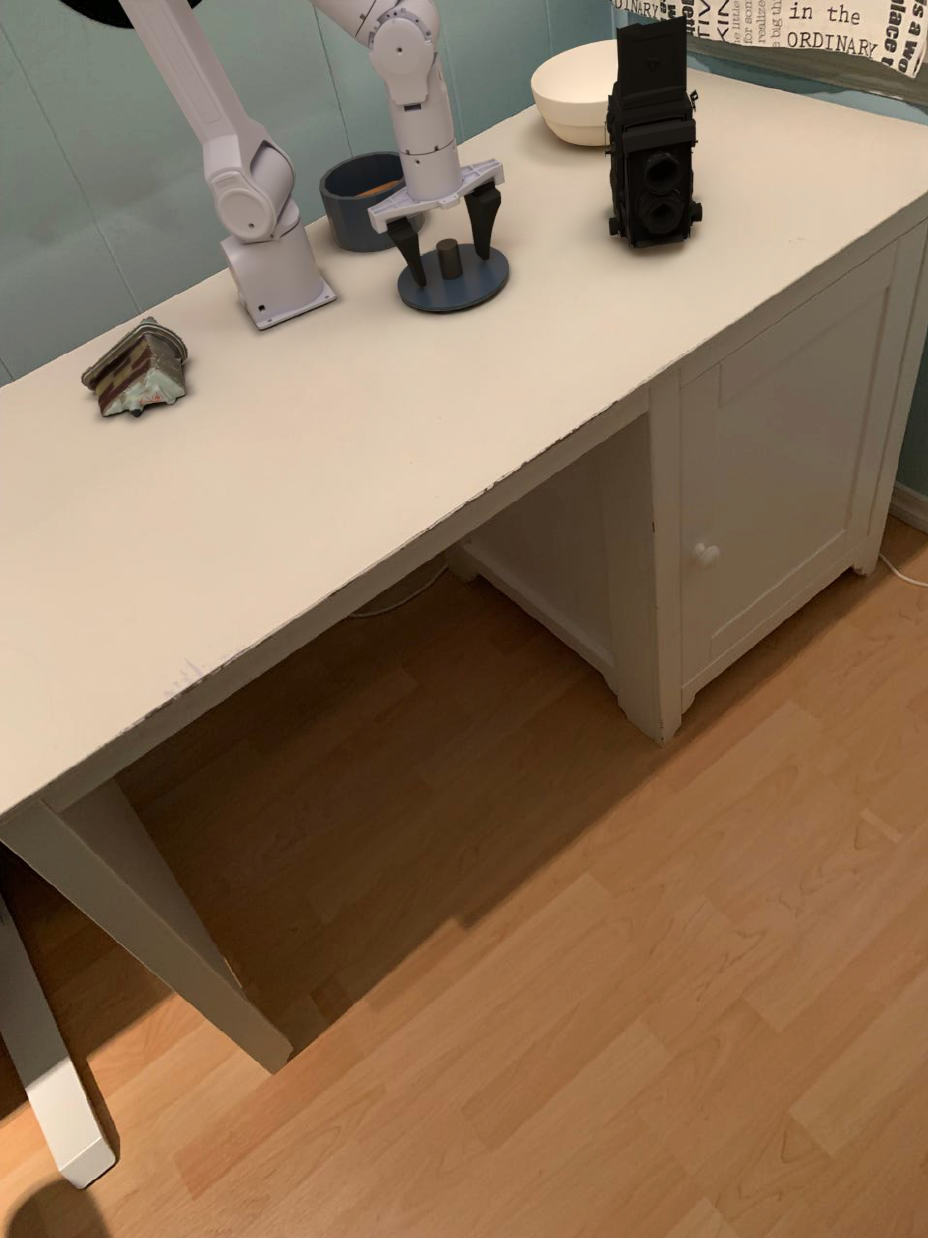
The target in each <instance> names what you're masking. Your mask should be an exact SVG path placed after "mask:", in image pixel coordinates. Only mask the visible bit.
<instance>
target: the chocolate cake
mask: <svg viewBox="0 0 928 1238" xmlns="http://www.w3.org/2000/svg"><path fill="white" fill-rule="evenodd" d="M188 357H189V350H188V347H187V346H186V344H185V343H184V340H183V338H182V337H180V336H179V335H178V334H176V332H174V330H172V329H171V328H168V327H167V326H164V325H162V324H160V323H158V321H157V319H155V317H153V316H150V315H149V316H148V317H145V318H143V319H142V320H141V321H140V322H139V323H138V324H137V326H135V327H133V328H132V330H130V331H128V332H127V333H126V334H125V335H124V336H122V338H120V339H119V340H118V341H117V342H116V343H115V344H114V345H113V346H112V347H111V348H110V349H109V350H108V351H107V352H106V353H104V354H103V355H102V356H100V357H99V358H98V360H97V361H96V362H95V363H94V364H92V365H90V366H88V367H87V368H86V370H85V371H84V372H82V373H81V376H80V383H82V385H83V386H84V387H86V388H87V389H88V390H90V391H91V392H95V394H96V396H97V397H98V398H97V403H98V405H97V406H98V407H99V409H100V414H101V415H102V416H103V417H104V416H106V417H107V416H109V415H114V414H117V413H121V412H123V411H125V410H129V411H130V414H131V415H132V416H135V417H138V416H140V414H141V413H142V411H143V410H144V407H145V406H147V405H151V404H154V403H164V402H165V403H166V404H167V405H173V404H175V402H176V399H177V398H180V397H183V396H185V395H186V394H187V391H186V386H185V384H184V380H185V379H184V374H183V371H182V365H183V364H184V362H185V361H186V360H187V359H188Z"/></svg>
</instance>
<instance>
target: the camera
mask: <svg viewBox="0 0 928 1238" xmlns="http://www.w3.org/2000/svg"><path fill="white" fill-rule="evenodd" d="M615 30H616V31H615V34H616V39H617V56H618V73H617V81H616V82H615V83H614V84H613V90H612V95H608V109H607V111H608V112H607V115H606V121H604V123H605V126H606V125H607V131H608V133H609V134H610V136H609V141H610V145H609V150H607V145H606V128H605V145H604V156H605V157H604V158H607V155H610V169H609V185H610V190H611V201H612V208H613V214H614V215H615V216H612V217H611V216H610V217H609V218H608V230H609V231H608V232H609V235H610V237H614V236H619V235H620V238H621V239H624V238H625V239H626V240H627V243H628V247H629V249H631V246H632V247H633V249H637V250H642V249H648V248H654V247H660V246H664V245H670V244H671V245H672V244H676V243H682V242H685V240H688V239H689V238H691V233H692V227H693V226H694V223H701V222H702V221H703V206H702V202H701V201H700V202H696V200H693V194H694V178H695V177H694V176H695V175H694V174H695V173H694V170H693V154H694V151H693V150H692V148H696V144H698V143H699V139H697V121H696V120H695V118H694V113H697V106H696V102H695V101H697V100H699V94H698V92H697V90H696V89H694V90H693V91H691V93H690V94H688V92H687V91H688V14H683V15H679V16H676V17H672V18H668V19H665V20H662V21H655V22H650V23H646V24H642V23H639V22H636V23H632V24H629V25H625V26H623V27H620V28H619V27H617V26H616V27H615Z"/></svg>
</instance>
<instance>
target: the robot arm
mask: <svg viewBox="0 0 928 1238" xmlns="http://www.w3.org/2000/svg"><path fill="white" fill-rule="evenodd" d="M307 1H308V2H309V3H311V4H312V5H313V6H314V7H315V8H317V9H318V10H319V11H320V12H321V13H322V14H324V15H325V16H326V17H327V18H328V19H330V20H331V21H332V22H333V23H335V24H336V26H338V27H339V28H340V29H342V31H344V32H345V33H346V34H348V35H349V36H350V37H351V38H353V40H354V41H356V42H357V44H360V45H362V46H365V47H366V48H368V49H369V52H368V53H367V58H368V60H369V63H370V65H371V68H372V69H373V70H374V72H375V73H376V74H377V75H378V76H379V78H381V79H382V81H383V84H384V89H385V92H386V103H387V106H388V110H389V115H390V118H391V124H392V128H393V133H394V136H395V141H396V146H397V150H398V153H399V156H400V160H401V164H402V169H403V173H404V178H405V182H406V187H404V188H402V189H401V190H399V191H398V192H396V193H395V194H393V195H392V196H390V197H389V198H387V199H385V200H384V201H382V202H381V203H379V204H377V205H375V206H373V207H371V208H368V213H369V217H370V221H371V224H372V227H373V228H374V229H375V230H376V232H378V233H379V234H380V233H383V232H386V233H387V234H388V236H389V237H390V238H391V239H392V241H393V242H394V243H395V245H396V246H395V247H396V248H397V250H398V251H399V252H400V254H401V256H402V257H403V259H404V260H405V263H406V264H407V265H408V266H409V268H410V271H411V273H412V275H413V278H414V281H415V282H416V283H417V284H418V285H419V286H420V287H424V286H427V282H426V276H425V273H424V269H423V265H422V262H421V257H420V256H421V250H420V240H419V239H420V238H419V237H420V236H419V233H418V232H416V231H415V230H414V229H413V228H412V225H411V223H409V222H408V218H411V217H413V216H416V215H418V214H421V213H423V212H424V213H426V212H428V211H430V210H434V209H438V208H440V209H441V210H448V209H451V208H454V207H456V206H458V205H460V204H461V199H462V197H463V199H464V202H465V207H466V210H467V214H468V217H469V222H470V227H471V234H472V241H473V244H474V247H475V251H476V254H477V255H478V256H479V257H480V258H481V259H482V260H484V261H486V260H488V259H489V256H490V247H491V241H492V234H493V229H494V224H495V221H496V217H497V215H498V212H499V209H500V207H501V205H502V193H501V191H500V190H499V189H498V188H497V187H496V186H499V185H502V184H505V183H506V180H505V172H504V165H503V163H502V162H500V161H499V160H498V159H496V158H495V157H492V158H489V159H487V160H483V161H480V162H476V163H471V164H467V165H462V166H461V163H460V157H459V151H458V145H457V140H456V133H455V128H454V121H453V115H452V111H451V106H450V100H449V99H450V98H449V93H448V88H447V83H446V81H445V78H444V71H443V70H444V69H443V66H442V62H441V56H440V52H438V51H436V49H437V46H438V43H439V40H440V37H441V36H440V35H441V17H440V14H439V12H438V9H437V6H436V5H435V3H434V2H433V0H307ZM118 3H119V4H120V5H121V8H122V9H123V11H124V13H125V14H126V16H127V18H128V19H129V21H130V23H131V25H132V26H133V28H134V30H135V32H136V33H137V35H138V38H139V39H140V40H141V43H142V45H144V47H145V49H146V51H147V52H148V54H149V56H150V58H151V59H152V61H153V63H154V65H155V66H156V68H157V70H158V72H159V74H160V75H161V77H162V79H163V80H164V82H165V85H167V87H168V89H169V91H170V93H171V94H172V96H173V98H174V99H175V101H176V103H177V105H178V107H179V108H180V110H181V112H182V114H183V115H184V118H186V120H187V123H188V124H189V126H190V127H191V129H192V131H193V133H194V134H195V136H196V138H197V139H198V142H199V143H200V145H201V147H202V148H201V149H202V159H203V171H204V180H205V182H206V184H207V186H208V187H209V189H210V191H211V194H212V196H213V201H214V209H215V213H216V216H217V219H218V221H219V222H220V224H221V225H222V226H223V227H224V229H225V230H226V231H227V232H228V233H229V234H230V236H228V237H227V238H224V239H223V240H221V241H220V242H219V247H220V249H221V252H222V255H223V258H224V260H225V263H226V264H227V267H228V270H229V272H230V274H231V277H232V279H233V282H234V284H235V287H236V290H237V292H236V293H237V296H238V298H239V300H240V303H241V305H242V306H243V308H246V310H247V312H248V313H249V316H250V317H251V318H252V320H253V322H254V324H255V326H256V327H257V329H258V330H265V329H268V328H270V327H272V326H275V325H277V324H280V323H282V322H284V321H287V320H289V319H291V318H294V317H297V316H299V315H302V314H303V313H307V312H308V311H311V310H314V309H316V308H318V307H321V306H323V305H325V304H328V303H330V302H332V301H334V300H336V298H337V296H336V293H335V292H334V291H333V289H332V288H331V287H330V285H329V284H328V283H327V281H326V280H325V279H324V277H323V276H322V274H321V273H320V270H319V268H318V265H317V262H316V259H315V255H314V252H313V249H312V246H311V242H310V240H309V236H308V234H307V230H306V227H305V225H304V222H303V219H302V218H303V217H302V215H301V212H300V208H299V207H298V205H297V204H296V202H295V200H294V197H293V194H292V192H293V191H294V189H295V185H296V182H297V181H296V180H297V175H296V173H297V172H296V168H295V165H294V163H293V161H292V160H291V158H290V156H289V155H288V153H286V152H285V151H284V150H283V149H282V148H281V147H280V146H278V145H277V144H276V143H275V141H274V140H273V139H272V138H271V136H270V135H269V132H268V130H267V128H266V127H265V126H264V125H263V124H261V122H258V121H257V120H255V119H253V118H251V117H249V116H248V114H247V112H246V110H245V109H244V106H243V105H242V103H241V100H240V99H239V96H238V95H237V93H236V91H235V89H234V87H233V86H232V84H231V81H230V80H229V78H228V76H227V74H226V72H225V70H224V68H223V66H222V64H221V63H220V60H219V59H218V57H217V55H216V53H215V52H214V49H213V48H212V46H211V44H210V41H209V40H208V38H207V36H206V34H205V32H204V30H203V28H202V26H201V24H200V22H199V20H198V18H197V17H196V15H195V13H194V11H193V9H192V8H191V5H190V3H189V2H188V0H118Z"/></svg>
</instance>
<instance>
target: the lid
mask: <svg viewBox="0 0 928 1238" xmlns="http://www.w3.org/2000/svg"><path fill="white" fill-rule="evenodd" d="M420 257H421V262H422V265H423V269H424V273H425V276H426V282H427V286H424V287H420V286H419V285H418V284H417V283H416V282H415V281H414V278H413V275H412V273H411V271H410V268H409V266H408V264H407V265H406V266H405V267H404V268H403V270H401V272H400V274H399V276H398V277H397V278H398V279H397V284H396V286H397V287H396V288H397V292H398V294H399V296H400V298H401V299H402V300H403V301H404V302H405V303H406V304H407V305H409V306H411V307H413V308H415V309H419V310H424V311H430V312H445V311H454V310H461V309H463V308H467V307H470V306H473V305H476V304H478V303H480V302H482V301H485V300H487V299H488V298H490V297H491V296H492V295H494V294H495V293H497V292H498V291H499V290H500V289H501V288H502V287H503V286H504V284H505V283H506V281H507V280H508V278H509V274H510V265H509V264H510V263H509V260H508V258H507V257H506V255H505V254H504V253H503V252H502V251H500V250H499V249H497V248H496V247H494V246H490V256H489V259H488V260H486V261H484V260H482V259H481V258H480V257H479V256H478V255H477V254H476V251H475V247H474V243H472V242H471V243H459V242H458V240H457V239H456V238H451V237H449V238H444V239H441V240H439V241H438V242H437V243H436V244H435V249H432V250H430V251H427V252H425V253H423V254H420Z"/></svg>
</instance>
